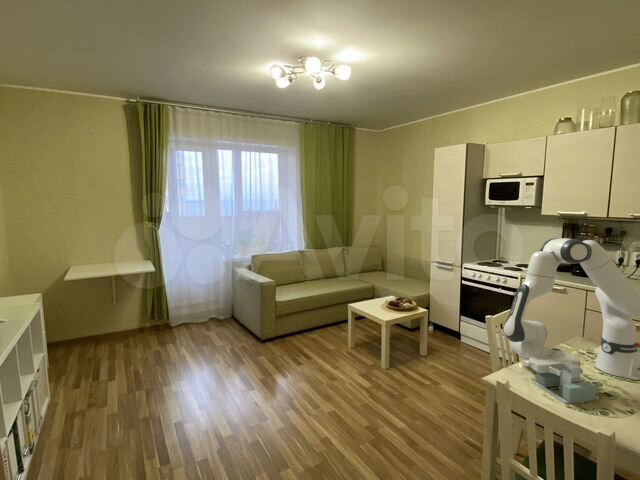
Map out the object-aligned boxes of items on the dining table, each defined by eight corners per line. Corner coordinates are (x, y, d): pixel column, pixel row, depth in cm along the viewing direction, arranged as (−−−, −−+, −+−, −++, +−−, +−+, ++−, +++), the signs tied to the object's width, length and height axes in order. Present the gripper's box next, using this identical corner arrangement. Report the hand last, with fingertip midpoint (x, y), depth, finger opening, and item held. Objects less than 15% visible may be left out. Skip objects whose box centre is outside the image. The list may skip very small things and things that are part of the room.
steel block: (567, 389, 140) (569, 361, 138) (578, 396, 135) (580, 367, 134) (559, 390, 139) (560, 362, 138) (569, 397, 134) (572, 368, 133)
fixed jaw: (563, 379, 148) (563, 365, 147) (599, 399, 132) (600, 384, 132) (532, 382, 145) (533, 369, 145) (565, 404, 130) (566, 389, 129)
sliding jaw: (560, 379, 147) (561, 370, 147) (569, 384, 143) (569, 375, 143) (536, 382, 145) (537, 373, 145) (544, 387, 141) (544, 378, 141)
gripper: (522, 352, 147) (549, 367, 133) (563, 348, 150) (593, 362, 137) (521, 366, 148) (548, 382, 134) (562, 362, 151) (592, 377, 138)
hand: (571, 372), depth 135 cm, fingers open, 8 cm apart
